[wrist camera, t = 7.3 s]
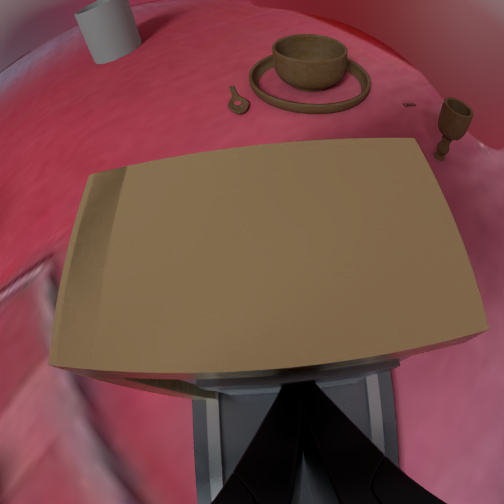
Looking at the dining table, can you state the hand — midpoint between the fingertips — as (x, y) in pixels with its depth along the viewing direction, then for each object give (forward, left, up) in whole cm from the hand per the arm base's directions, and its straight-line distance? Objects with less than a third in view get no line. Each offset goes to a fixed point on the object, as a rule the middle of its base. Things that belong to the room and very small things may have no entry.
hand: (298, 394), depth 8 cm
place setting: (+19, -14, -9) cm, 26 cm away
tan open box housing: (+4, -1, -8) cm, 9 cm away
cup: (+53, +2, -8) cm, 54 cm away
